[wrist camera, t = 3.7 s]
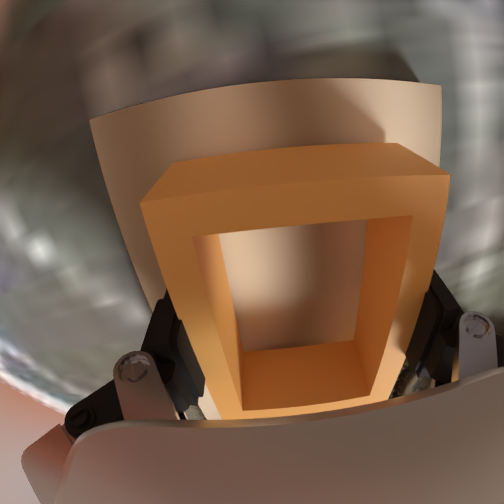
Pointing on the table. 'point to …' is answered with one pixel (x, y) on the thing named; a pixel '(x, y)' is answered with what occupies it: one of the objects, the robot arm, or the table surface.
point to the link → (292, 214)
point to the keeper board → (272, 239)
